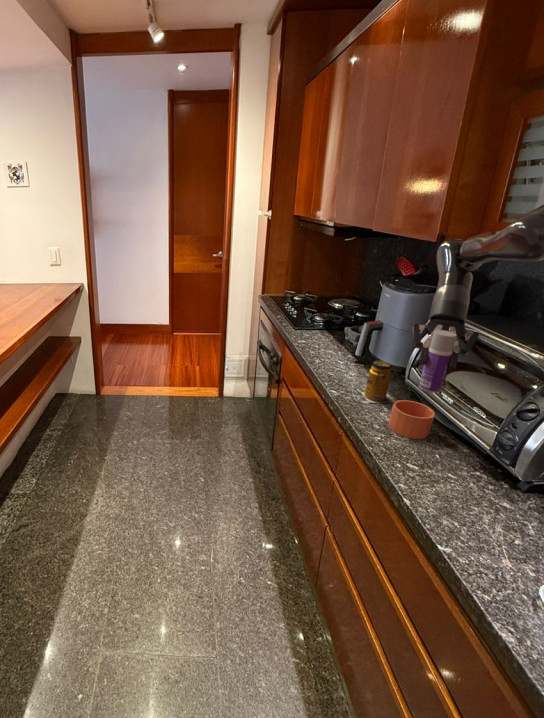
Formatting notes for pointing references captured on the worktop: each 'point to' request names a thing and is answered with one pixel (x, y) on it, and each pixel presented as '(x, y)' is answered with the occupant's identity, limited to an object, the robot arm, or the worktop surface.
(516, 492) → the worktop surface
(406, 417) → the holder
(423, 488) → the worktop surface
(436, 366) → the container
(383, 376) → the condiment
